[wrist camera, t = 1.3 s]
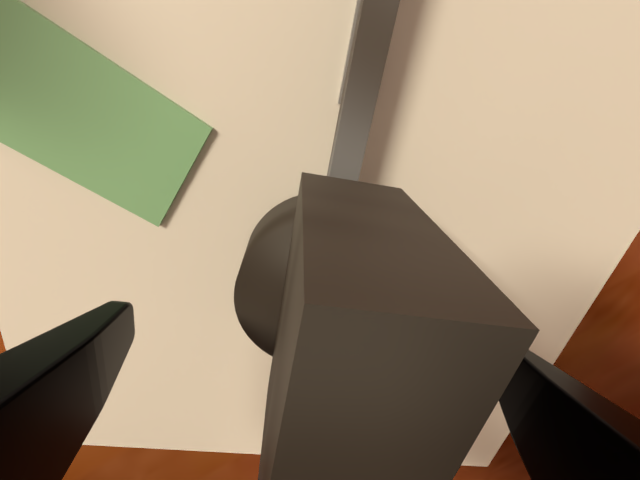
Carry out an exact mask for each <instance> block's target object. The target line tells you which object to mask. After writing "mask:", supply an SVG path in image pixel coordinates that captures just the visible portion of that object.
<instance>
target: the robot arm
mask: <svg viewBox="0 0 640 480" xmlns="http://www.w3.org/2000/svg"><path fill="white" fill-rule="evenodd" d="M134 336H135V323H134V309H133V305H132V304H131V303H130V302H123V301H109V302H107V303H105V304H103V305H101V306H99V307H97V308H94V309H92V310H90V311H88V312H86V313H84V314H82V315H80V316H78V317H76V318H74V319H72V320H70V321H67V322H65V323H63V324H61V325H59V326H57V327H55V328H53V329H51V330H49V331H47V332H45V333H42V334H40V335H38V336H36V337H34V338H32V339H30V340H28V341H26V342H24V343H22V344H20V345H18V346H15V347H13V348H11V349H9V350H7V351H5V352H3V353H1V354H0V480H62V479H63V477H64V475H65V473H66V472H67V470H68V468H69V466H70V465H71V463H72V461H73V460H74V458H75V456H76V454H77V453H78V451H79V449H80V447H81V446H82V444H83V442H84V441H85V439H86V437H87V435H88V434H89V432H90V430H91V428H92V427H93V425H94V423H95V422H96V420H97V418H98V416H99V414H100V413H101V411H102V409H103V407H104V405H105V403H106V401H107V399H108V396H109V394H110V392H111V390H112V388H113V385H114V383H115V381H116V379H117V376H118V374H119V372H120V370H121V367H122V365H123V363H124V361H125V358H126V356H127V354H128V352H129V349H130V347H131V345H132V343H133V340H134ZM499 403H500V406H501V409H502V412H503V415H504V417H505V420H506V423H507V426H508V428H509V431H510V433H511V436H512V438H513V441H514V443H515V445H516V448H517V450H518V452H519V454H520V456H521V458H522V461H523V463H524V465H525V467H526V469H527V471H528V474H529V476H530V478H531V480H640V420H639V419H638V418H636V417H635V416H633V415H631V414H630V413H628V412H627V411H625V410H624V409H622V408H620V407H619V406H617V405H616V404H614V403H612V402H611V401H609V400H608V399H606V398H605V397H603V396H601V395H600V394H598V393H597V392H595V391H593V390H592V389H590V388H589V387H587V386H585V385H584V384H582V383H581V382H579V381H578V380H576V379H574V378H573V377H571V376H570V375H568V374H566V373H565V372H563V371H562V370H560V369H559V368H557V367H555V366H554V365H552V364H551V363H549V362H547V361H546V360H544V359H543V358H541V357H539V356H538V355H536V354H535V353H533V352H532V351H530V350H528V351H527V353H526V355H525V356H524V358H523V360H522V362H521V363H520V365H519V367H518V368H517V370H516V372H515V374H514V375H513V377H512V379H511V380H510V382H509V384H508V386H507V387H506V389H505V391H504V392H503V394H502V396H501V397H500V399H499Z"/></svg>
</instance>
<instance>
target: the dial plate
mask: <svg viewBox="0 0 640 480" xmlns="http://www.w3.org/2000/svg"><path fill="white" fill-rule="evenodd" d="M359 4H360V0H0V331H1V334H2V338H3V341H4V344H5V348H6V351H7V350H9V349H11V348H13V347H15V346H18V345H20V344H22V343H24V342H26V341H28V340H30V339H32V338H34V337H36V336H38V335H40V334H42V333H45V332H47V331H49V330H51V329H53V328H55V327H57V326H59V325H61V324H63V323H65V322H67V321H70V320H72V319H74V318H76V317H78V316H80V315H82V314H84V313H86V312H88V311H90V310H92V309H94V308H97V307H99V306H101V305H103V304H105V303H107V302H109V301H123V302H130V303H131V304H132V305H133V309H134V323H135V336H134V340H133V343H132V345H131V347H130V349H129V352H128V354H127V356H126V358H125V361H124V363H123V365H122V367H121V370H120V372H119V374H118V376H117V379H116V381H115V383H114V385H113V388H112V390H111V392H110V394H109V396H108V399H107V401H106V403H105V405H104V407H103V409H102V411H101V413H100V414H99V416H98V418H97V420H96V422H95V423H94V425H93V427H92V428H91V430H90V432H89V434H88V435H87V437H86V439H85V441H84V442H83V444H82V445H98V446H117V447H135V448H153V449H172V450H190V451H208V452H227V453H245V454H261V447H262V438H263V428H264V419H265V409H266V400H267V391H268V383H269V377H270V371H271V364H272V358H273V357H272V356H270V355H269V354H267V353H266V352H264V351H263V350H261V349H260V348H259V347H258V346H257V345H255V344H254V343H253V342H252V340H251V339H250V338H249V337H248V336H247V334H246V333H245V332H244V330H243V329H242V327H241V325H240V323H239V321H238V318H237V315H236V312H235V306H234V288H235V281H236V278H237V275H238V272H239V269H240V266H241V263H242V260H243V257H244V254H245V251H246V248H247V245H248V242H249V239H250V236H251V234H252V232H253V230H254V228H255V227H256V225H257V224H258V222H259V221H260V220H261V219H262V218H263V216H264V215H265V214H266V213H267V212H269V211H270V210H271V209H272V208H274V207H275V206H276V205H278V204H280V203H281V202H283V201H285V200H287V199H290V198H292V197H295V196H298V193H299V186H300V180H301V174H302V172H305V173H311V174H317V175H323V176H327V172H328V166H329V161H330V156H331V151H332V145H333V140H334V135H335V130H336V124H337V119H338V114H339V109H340V103H341V98H342V93H343V88H344V82H345V77H346V72H347V67H348V61H349V56H350V51H351V46H352V41H353V35H354V30H355V25H356V20H357V14H358V9H359ZM358 181H360V182H366V183H372V184H378V185H384V186H390V187H396V188H401V189H402V190H403V191H404V192H405V193H406V194H407V195H408V196H409V197H410V198H411V199H412V200H413V201H414V202H415V203H416V204H417V205H418V206H419V207H420V208H421V209H422V210H423V211H424V212H425V213H426V214H427V215H428V216H429V217H430V218H431V219H432V220H433V221H434V222H435V223H436V224H437V226H438V227H439V228H440V229H441V230H442V231H443V232H444V233H445V234H446V235H447V236H448V237H449V238H450V239H451V240H452V241H453V242H454V243H455V244H456V245H457V246H458V247H459V248H460V249H461V250H462V251H463V252H464V253H465V254H466V255H467V256H468V257H469V258H470V259H471V260H472V261H473V262H474V263H475V264H476V265H477V266H478V267H479V269H480V270H481V271H482V272H483V273H484V274H485V275H486V276H487V277H488V278H489V279H490V280H491V281H492V282H493V283H494V284H495V285H496V286H497V287H498V288H499V289H500V290H501V291H502V292H503V293H504V294H505V295H506V296H507V297H508V298H509V299H510V300H511V301H512V302H513V303H514V304H515V305H516V306H517V307H518V308H519V309H520V311H521V312H522V313H523V314H524V315H525V316H526V317H527V318H528V319H529V320H530V321H531V322H532V323H533V324H534V325H535V326H536V327H537V328H538V329H539V330H540V331H539V332H538V334H537V336H536V338H535V339H534V341H533V343H532V344H531V346H530V348H529V350H530V351H532V352H533V353H535V354H536V355H538V356H539V357H541V358H543V359H544V360H546V361H547V362H549V363H551V364H552V365H553V364H554V362H555V361H556V359H557V358H558V356H559V355H560V353H561V352H562V350H563V348H564V347H565V345H566V344H567V342H568V341H569V339H570V338H571V336H572V334H573V333H574V331H575V330H576V328H577V327H578V325H579V324H580V322H581V320H582V319H583V317H584V316H585V314H586V313H587V311H588V310H589V308H590V306H591V305H592V303H593V302H594V300H595V299H596V297H597V296H598V294H599V292H600V291H601V289H602V288H603V286H604V285H605V283H606V281H607V280H608V278H609V277H610V275H611V274H612V272H613V271H614V269H615V267H616V266H617V264H618V263H619V261H620V260H621V258H622V257H623V255H624V253H625V252H626V250H627V249H628V247H629V246H630V244H631V243H632V241H633V239H634V238H635V236H636V235H637V233H638V232H639V230H640V0H400V3H399V8H398V12H397V16H396V20H395V25H394V29H393V33H392V38H391V42H390V46H389V50H388V55H387V59H386V63H385V68H384V72H383V76H382V81H381V85H380V89H379V93H378V98H377V102H376V106H375V111H374V115H373V119H372V123H371V128H370V132H369V136H368V141H367V145H366V149H365V153H364V158H363V162H362V166H361V171H360V175H359V179H358ZM509 433H510V431H509V428H508V426H507V423H506V420H505V417H504V415H503V412H502V409H501V406H500V403H499V401H498V403H497V404H496V406H495V408H494V409H493V411H492V413H491V415H490V416H489V418H488V420H487V421H486V423H485V425H484V427H483V428H482V430H481V432H480V433H479V435H478V437H477V439H476V440H475V442H474V444H473V445H472V447H471V449H470V451H469V452H468V454H467V456H466V457H465V459H464V461H463V462H462V464H461V465H465V466H484V467H488V465H489V464H490V462H491V461H492V459H493V457H494V456H495V454H496V453H497V451H498V450H499V448H500V447H501V445H502V443H503V442H504V440H505V439H506V437H507V436H508V434H509Z"/></svg>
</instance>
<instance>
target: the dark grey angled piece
mask: <svg viewBox="0 0 640 480" xmlns="http://www.w3.org/2000/svg"><path fill="white" fill-rule="evenodd" d="M399 3H400V0H360V4H359V9H358V14H357V20H356V25H355V30H354V35H353V41H352V46H351V51H350V56H349V61H348V67H347V72H346V77H345V82H344V88H343V93H342V98H341V103H340V109H339V114H338V119H337V124H336V130H335V135H334V140H333V145H332V151H331V156H330V161H329V166H328V172H327V176H323V175H317V174H311V173H305V172H302V174H301V180H300V186H299V193H298V196H295V197H292V198H290V199H287V200H285V201H283V202H281V203H280V204H278V205H276V206H275V207H274V208H272V209H271V210H270V211H269V212H267V213H266V214H265V215H264V216H263V218H262V219H261V220H260V221H259V222H258V224H257V225H256V227H255V228H254V230H253V232H252V234H251V236H250V239H249V242H248V245H247V248H246V251H245V254H244V257H243V260H242V263H241V266H240V269H239V272H238V275H237V278H236V281H235V288H234V306H235V312H236V315H237V318H238V321H239V323H240V325H241V327H242V329H243V330H244V332H245V333H246V334H247V336H248V337H249V338H250V339H251V340H252V342H253V343H254V344H255V345H257V346H258V347H259V348H260V349H261V350H263V351H264V352H266V353H267V354H269V355H270V356H272V357H273V358H272V364H271V371H270V377H269V383H268V391H267V400H266V409H265V419H264V428H263V438H262V447H261V457H260V466H259V475H258V480H453V478H454V476H455V474H456V473H457V471H458V469H459V468H460V466H461V464H462V462H463V461H464V459H465V457H466V456H467V454H468V452H469V451H470V449H471V447H472V445H473V444H474V442H475V440H476V439H477V437H478V435H479V433H480V432H481V430H482V428H483V427H484V425H485V423H486V421H487V420H488V418H489V416H490V415H491V413H492V411H493V409H494V408H495V406H496V404H497V403H498V401H499V399H500V397H501V396H502V394H503V392H504V391H505V389H506V387H507V386H508V384H509V382H510V380H511V379H512V377H513V375H514V374H515V372H516V370H517V368H518V367H519V365H520V363H521V362H522V360H523V358H524V356H525V355H526V353H527V351H528V350H529V348H530V346H531V344H532V343H533V341H534V339H535V338H536V336H537V334H538V332H539V331H540V330H539V329H538V328H537V327H536V326H535V325H534V324H533V323H532V322H531V321H530V320H529V319H528V318H527V317H526V316H525V315H524V314H523V313H522V312H521V311H520V309H519V308H518V307H517V306H516V305H515V304H514V303H513V302H512V301H511V300H510V299H509V298H508V297H507V296H506V295H505V294H504V293H503V292H502V291H501V290H500V289H499V288H498V287H497V286H496V285H495V284H494V283H493V282H492V281H491V280H490V279H489V278H488V277H487V276H486V275H485V274H484V273H483V272H482V271H481V270H480V269H479V267H478V266H477V265H476V264H475V263H474V262H473V261H472V260H471V259H470V258H469V257H468V256H467V255H466V254H465V253H464V252H463V251H462V250H461V249H460V248H459V247H458V246H457V245H456V244H455V243H454V242H453V241H452V240H451V239H450V238H449V237H448V236H447V235H446V234H445V233H444V232H443V231H442V230H441V229H440V228H439V227H438V226H437V224H436V223H435V222H434V221H433V220H432V219H431V218H430V217H429V216H428V215H427V214H426V213H425V212H424V211H423V210H422V209H421V208H420V207H419V206H418V205H417V204H416V203H415V202H414V201H413V200H412V199H411V198H410V197H409V196H408V195H407V194H406V193H405V192H404V191H403V190H402V189H401V188H396V187H390V186H384V185H378V184H372V183H366V182H360V181H358V179H359V175H360V171H361V166H362V162H363V158H364V153H365V149H366V145H367V141H368V136H369V132H370V128H371V123H372V119H373V115H374V111H375V106H376V102H377V98H378V93H379V89H380V85H381V81H382V76H383V72H384V68H385V63H386V59H387V55H388V50H389V46H390V42H391V38H392V33H393V29H394V25H395V20H396V16H397V12H398V8H399Z"/></svg>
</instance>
